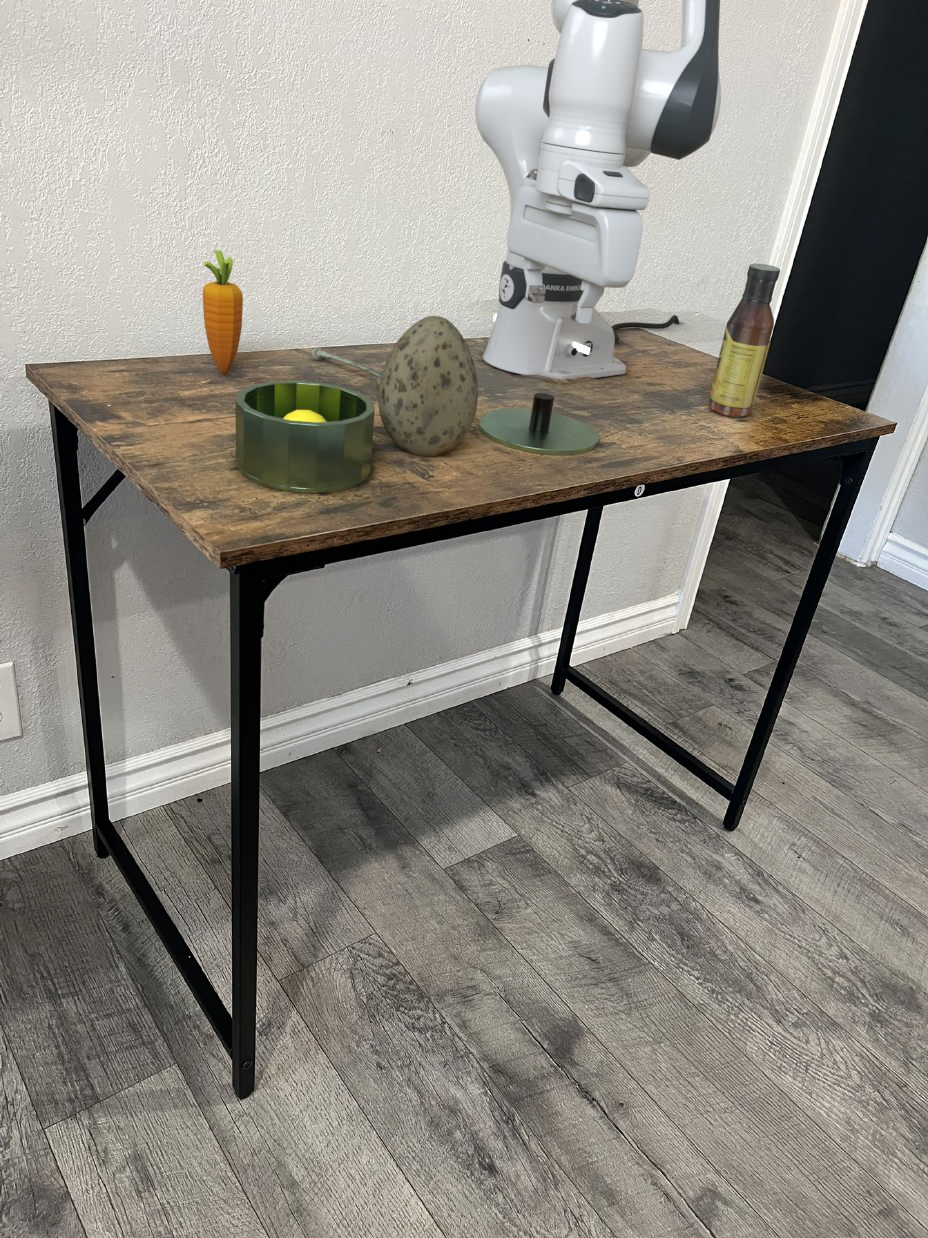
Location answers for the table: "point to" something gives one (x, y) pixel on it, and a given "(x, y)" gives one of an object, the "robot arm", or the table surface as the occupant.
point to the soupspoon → (320, 354)
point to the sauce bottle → (745, 345)
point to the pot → (304, 436)
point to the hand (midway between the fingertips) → (556, 311)
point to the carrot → (222, 314)
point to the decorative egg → (428, 388)
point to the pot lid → (539, 429)
